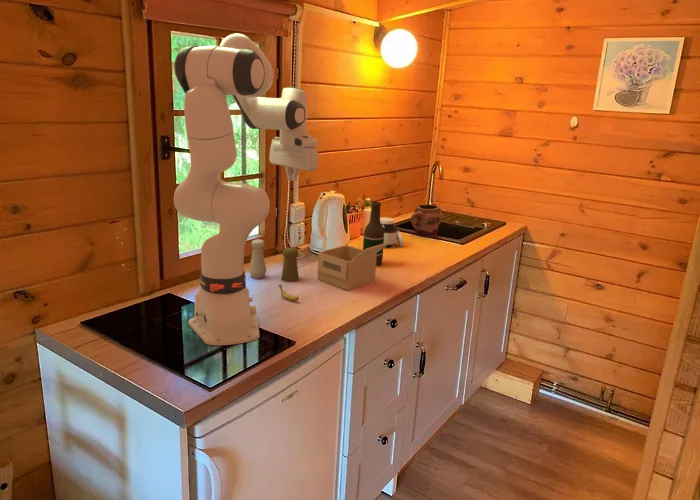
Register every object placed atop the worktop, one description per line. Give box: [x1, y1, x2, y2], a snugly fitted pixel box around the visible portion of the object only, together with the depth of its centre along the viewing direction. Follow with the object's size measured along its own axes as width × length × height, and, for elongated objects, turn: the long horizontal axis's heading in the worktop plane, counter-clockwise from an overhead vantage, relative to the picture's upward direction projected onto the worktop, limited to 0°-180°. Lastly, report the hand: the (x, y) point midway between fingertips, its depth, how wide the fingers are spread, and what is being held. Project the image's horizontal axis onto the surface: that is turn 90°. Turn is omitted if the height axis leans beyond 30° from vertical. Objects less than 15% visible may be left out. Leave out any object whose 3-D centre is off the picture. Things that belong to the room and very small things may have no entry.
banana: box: [278, 284, 300, 302], centre depth 170 cm, size 8×2×4 cm, turn 54°
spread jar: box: [380, 216, 405, 249], centre depth 233 cm, size 12×11×12 cm
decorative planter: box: [410, 204, 444, 238], centre depth 251 cm, size 20×12×14 cm, turn 137°
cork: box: [280, 246, 300, 283], centre depth 187 cm, size 6×6×11 cm
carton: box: [317, 244, 377, 292], centre depth 188 cm, size 15×15×10 cm
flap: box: [352, 242, 390, 261], centre depth 179 cm, size 8×12×1 cm
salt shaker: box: [248, 238, 267, 280], centre depth 187 cm, size 6×6×13 cm
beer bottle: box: [362, 200, 384, 267], centre depth 206 cm, size 8×8×24 cm
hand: (292, 180), depth 185 cm, fingers closed
